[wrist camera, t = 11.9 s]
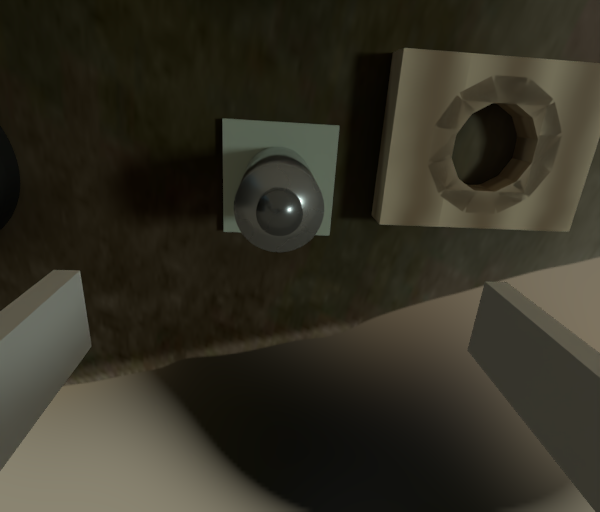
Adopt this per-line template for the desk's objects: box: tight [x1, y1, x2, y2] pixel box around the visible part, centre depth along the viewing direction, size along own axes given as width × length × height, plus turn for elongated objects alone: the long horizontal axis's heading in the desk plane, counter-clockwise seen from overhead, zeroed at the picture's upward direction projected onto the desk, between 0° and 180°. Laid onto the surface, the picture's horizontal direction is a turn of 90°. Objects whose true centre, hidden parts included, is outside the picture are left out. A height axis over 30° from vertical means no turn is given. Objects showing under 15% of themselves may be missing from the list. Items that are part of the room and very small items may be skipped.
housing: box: [372, 48, 600, 232], centre depth 35 cm, size 18×14×3 cm
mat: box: [222, 118, 339, 236], centre depth 36 cm, size 10×10×1 cm
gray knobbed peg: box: [234, 147, 324, 252], centre depth 30 cm, size 6×6×11 cm
